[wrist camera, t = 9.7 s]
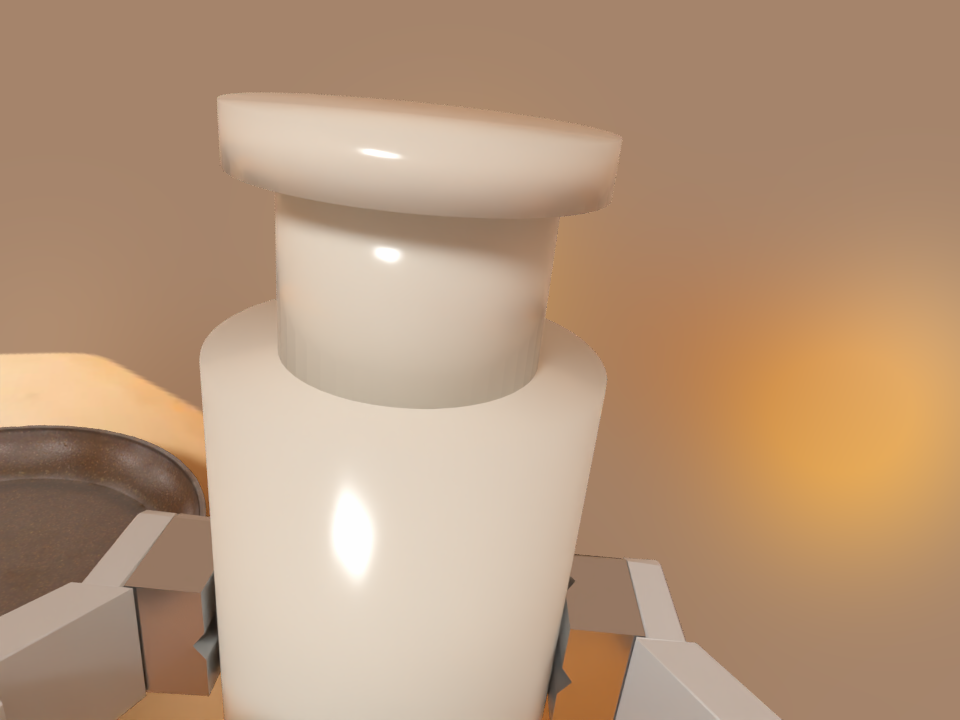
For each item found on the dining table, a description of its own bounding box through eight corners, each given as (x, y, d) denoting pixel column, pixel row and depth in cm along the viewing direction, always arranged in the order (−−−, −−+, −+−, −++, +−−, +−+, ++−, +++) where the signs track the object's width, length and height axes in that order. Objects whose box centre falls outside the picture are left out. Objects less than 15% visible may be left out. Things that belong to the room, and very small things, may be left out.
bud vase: (198, 1098, 11) (69, 100, 5) (285, 805, 15) (270, 83, 9) (493, 1124, 11) (713, 170, 5) (495, 824, 15) (614, 121, 9)
